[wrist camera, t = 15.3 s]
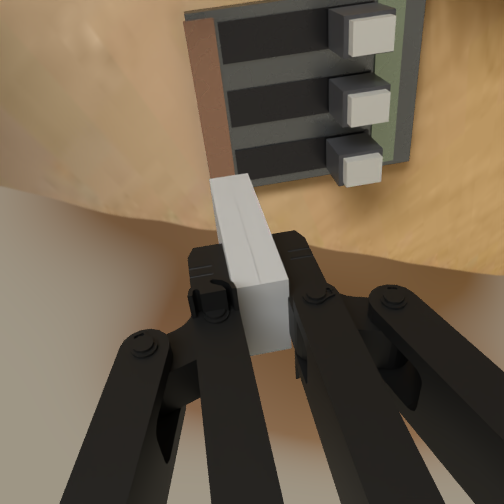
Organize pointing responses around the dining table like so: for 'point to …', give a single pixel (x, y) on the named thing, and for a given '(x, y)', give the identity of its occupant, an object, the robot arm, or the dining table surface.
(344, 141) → the block
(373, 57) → the panel
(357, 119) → the breaker mid row
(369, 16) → the breaker far row
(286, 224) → the dining table surface
